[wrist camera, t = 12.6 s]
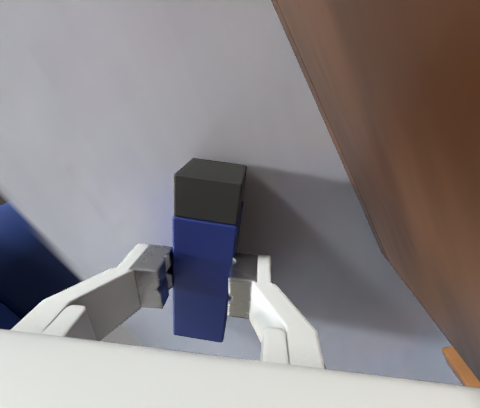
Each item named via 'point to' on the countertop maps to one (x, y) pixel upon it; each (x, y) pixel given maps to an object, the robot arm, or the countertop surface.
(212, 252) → the blue and gray block
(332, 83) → the cabinet
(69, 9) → the countertop surface
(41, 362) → the robot arm
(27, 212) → the countertop surface
